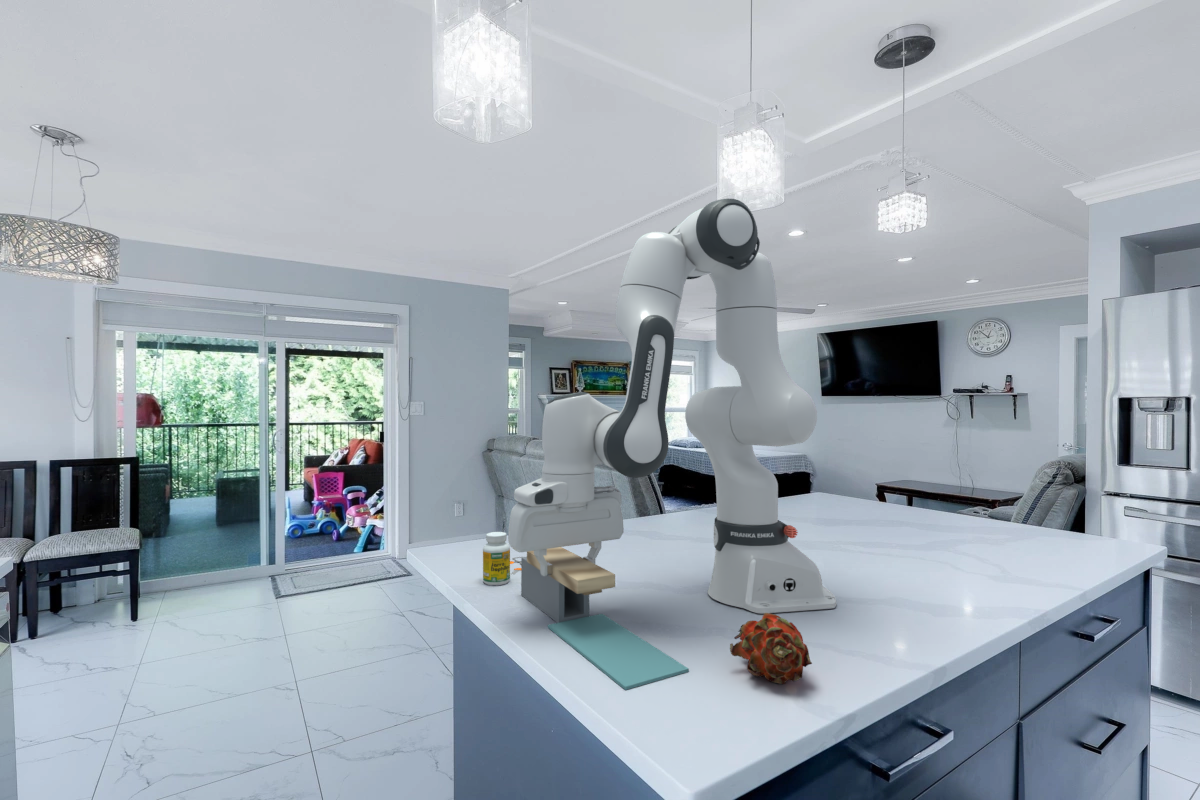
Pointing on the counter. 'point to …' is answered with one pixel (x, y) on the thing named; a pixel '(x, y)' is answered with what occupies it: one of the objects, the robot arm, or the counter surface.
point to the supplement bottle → (496, 559)
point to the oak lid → (575, 571)
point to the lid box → (552, 595)
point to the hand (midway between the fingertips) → (568, 571)
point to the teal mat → (617, 651)
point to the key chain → (515, 568)
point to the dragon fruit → (772, 649)
